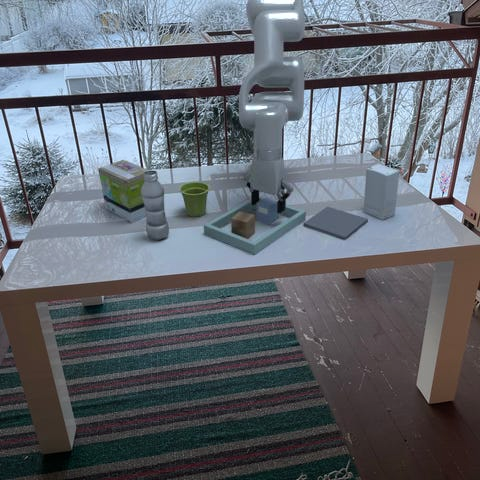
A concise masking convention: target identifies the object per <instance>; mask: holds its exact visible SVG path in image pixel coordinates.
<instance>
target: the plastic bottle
mask: <svg viewBox="0 0 480 480" xmlns="http://www.w3.org/2000/svg"><path fill="white" fill-rule="evenodd" d="M144 180H145V182H144V184H143V185H142V187H141V195H142V199H143V202H144V206H145V211H146V217H145V218H146V219H145V220H146V223H145V231H146V234H147V236H148V237H149V238H150V239H151V240H162V239H166V238H167V237H168V236H169V234H170V225H169V224H168V219H167V215H166V211H165V189H164V186H163V185H162V183H161V182H160V180H159V176H158V171H156V170H150V171H146V172H144Z"/></svg>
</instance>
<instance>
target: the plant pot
mask: <svg viewBox="0 0 480 480" xmlns="http://www.w3.org/2000/svg"><path fill="white" fill-rule="evenodd" d="M210 188H211V187H210V185H209V184H207V183H205V182H202V181H191V182H186V183H184V184H182V185H180V187H179V192H180V193H181V196H182V198H183V203H184V208H185V212H186V214H187V216H189V217H198V216H199V217H202V216H204V215H205V214H206V213H207V202H208V194H209V191H210Z"/></svg>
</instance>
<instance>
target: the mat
mask: <svg viewBox="0 0 480 480" xmlns="http://www.w3.org/2000/svg"><path fill="white" fill-rule="evenodd" d="M368 220H369V219H368V217H363V216H360V215H356V214H354V213H350V212H346V211H343V210H341V209H337V208H333V207H331V206H326V207H325V208H324V209H322V210H321V211H319V212H317V213H315V215H313V216H312V217H310V218H309V219H307V220H305V221H303V222H302V223H303V227H305V228H308V229H311V230H314V231H317V232H319V233H320V232H321V233H323V234H326V235H328V236H331V237H335V238H337V239H340V240H343V241H346V240H347V239H349V238H350V237H351V236H352V235H354V233H356V232H357V231H358V230H359V229H361V228H362V227H363V226H365V225H366V224H367V223H368V222H369V221H368Z"/></svg>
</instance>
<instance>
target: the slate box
mask: <svg viewBox="0 0 480 480" xmlns="http://www.w3.org/2000/svg"><path fill="white" fill-rule="evenodd" d="M263 198H264V199H262V200H261V201H259V202H257V203H256V205H257V207H256V221H258V222H259V223H263V224H266V225H269V226H271V225H272V224H273V223H275V222H277V221H278V220H280V214H279V213H277V201H278V200H276V199H273V198H270V197H267V196H266V197H263Z"/></svg>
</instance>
